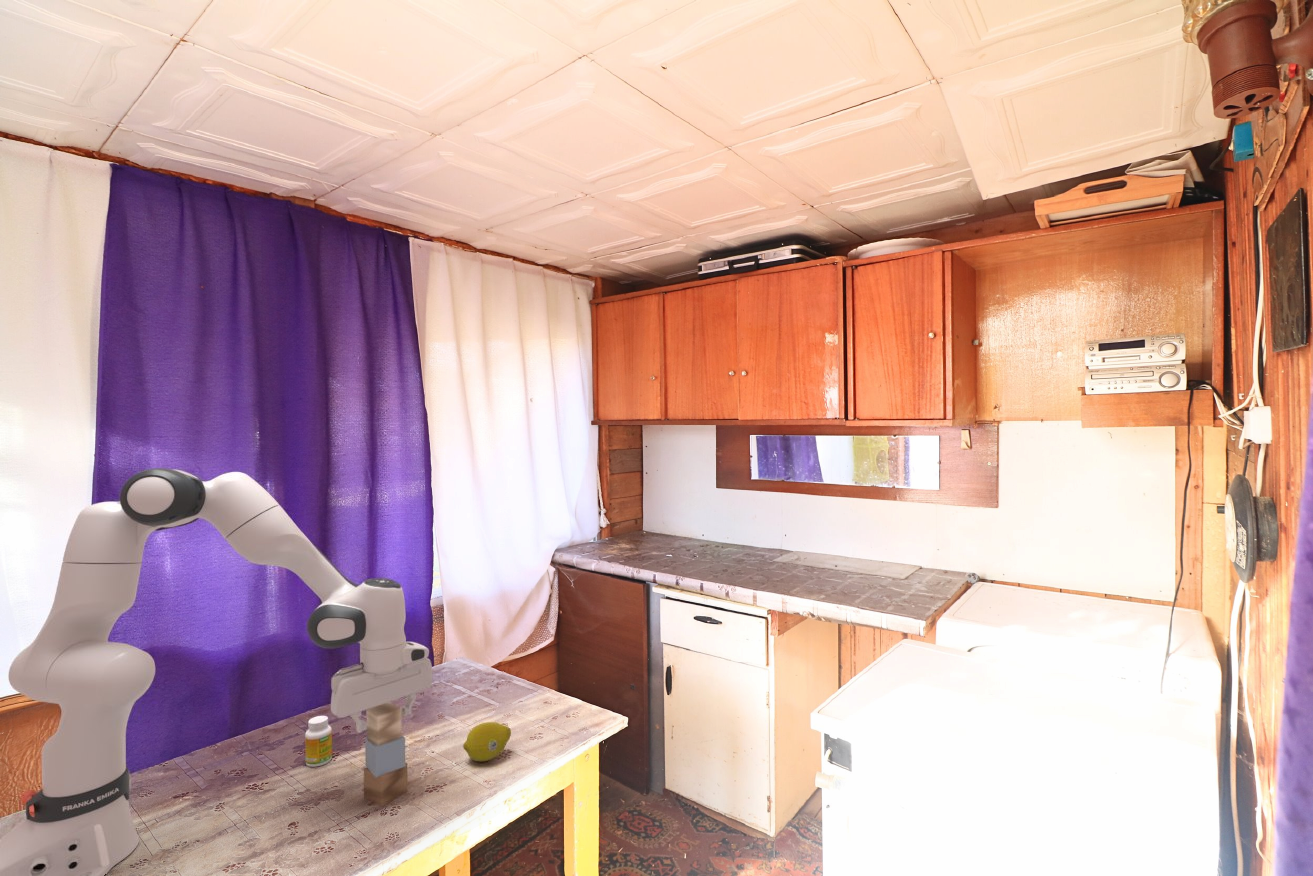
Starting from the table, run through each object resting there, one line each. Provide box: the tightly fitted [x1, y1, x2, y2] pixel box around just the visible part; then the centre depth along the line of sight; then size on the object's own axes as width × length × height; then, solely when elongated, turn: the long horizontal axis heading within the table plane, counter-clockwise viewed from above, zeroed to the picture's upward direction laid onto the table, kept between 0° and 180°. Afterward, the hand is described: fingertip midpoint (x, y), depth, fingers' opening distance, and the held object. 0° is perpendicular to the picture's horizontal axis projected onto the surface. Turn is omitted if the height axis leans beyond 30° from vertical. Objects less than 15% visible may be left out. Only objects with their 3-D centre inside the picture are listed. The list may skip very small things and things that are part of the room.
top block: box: [364, 735, 407, 777], centre depth 130 cm, size 6×6×6 cm
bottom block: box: [363, 762, 409, 807], centre depth 130 cm, size 6×6×6 cm
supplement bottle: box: [304, 715, 333, 768], centre depth 143 cm, size 5×5×10 cm
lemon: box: [462, 721, 512, 763], centre depth 144 cm, size 11×8×8 cm
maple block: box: [365, 701, 403, 746], centre depth 130 cm, size 5×5×6 cm
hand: (384, 722), depth 129 cm, fingers open, 8 cm apart
